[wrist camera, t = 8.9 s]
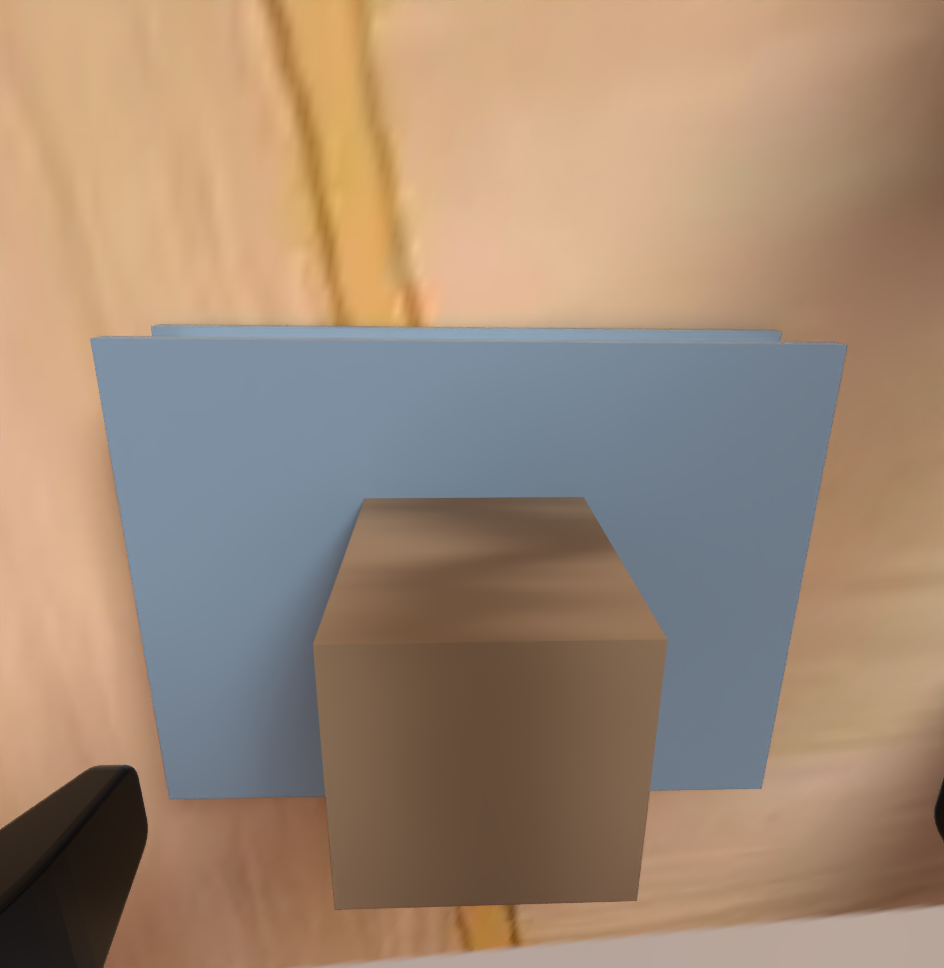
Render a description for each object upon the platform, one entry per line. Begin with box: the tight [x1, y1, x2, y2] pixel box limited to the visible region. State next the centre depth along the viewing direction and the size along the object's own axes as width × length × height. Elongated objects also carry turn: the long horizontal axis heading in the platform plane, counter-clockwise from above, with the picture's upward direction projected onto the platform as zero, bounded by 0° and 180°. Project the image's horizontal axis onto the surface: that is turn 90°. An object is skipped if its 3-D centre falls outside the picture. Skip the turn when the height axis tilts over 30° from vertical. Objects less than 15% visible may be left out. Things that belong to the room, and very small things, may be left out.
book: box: [90, 324, 847, 799], centre depth 17 cm, size 16×12×3 cm
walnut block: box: [313, 497, 668, 910], centre depth 13 cm, size 5×5×6 cm
